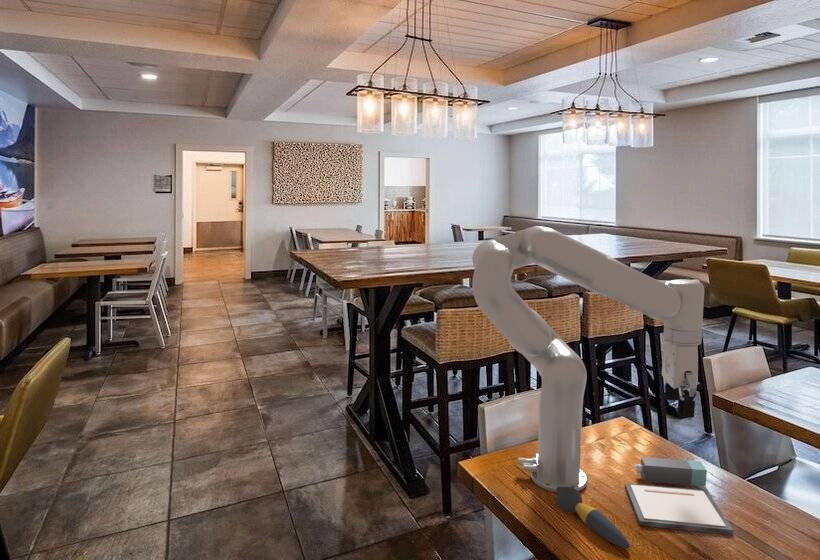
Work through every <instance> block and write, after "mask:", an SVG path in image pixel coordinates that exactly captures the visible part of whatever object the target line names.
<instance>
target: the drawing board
mask: <svg viewBox="0 0 820 560" xmlns="http://www.w3.org/2000/svg"><path fill="white" fill-rule="evenodd" d="M624 489H625V492H626V494H627V497H628V499H629V501H630V504H631V507H632V510H633V512H634V514H635V517H636V520H637V522H638V525H639V526H643V527H650V528H651V527H653V528H660V529H663V528H664V529H671V530H672V529H673V530H683V531H692V532H702V533H709V534H710V533H711V534H721V535H734V529H733V527H732V526H731V525H730V523H729V521H728V520H727V518H726V517H725V515H724V514H723V512H722V511H721V509H720V508H719V506H718V505H717V504H716V502H715V501H714V499H713V497H712V496H711V494H710V493H709V492H708V490H706V489H695V488H685V487H671V486H663V485H662V486H661V485H660V486H659V485H649V484H639V483H638V484H637V483H629V482H628V483H627V482H626V483H624Z"/></svg>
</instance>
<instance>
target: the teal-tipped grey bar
mask: <svg viewBox="0 0 820 560" xmlns="http://www.w3.org/2000/svg"><path fill="white" fill-rule="evenodd" d="M707 472H708V471H707V468H706V467H705V466H704V464H703V463H702V461H700V460H699V461H698V460H686V459H676V458H675V459H674V458H661V457H660V458H659V457H646V456H641V457H640V464H639V463H636V464H635V473H636V474H640V475H641V478H642V479H643V481H644V482H647V483H649V482H650V483H661V484H671V485H684V486H694V487H695V486H696V487H706V486H707V485H706V483H707V474H708V473H707Z"/></svg>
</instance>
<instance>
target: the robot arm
mask: <svg viewBox="0 0 820 560" xmlns="http://www.w3.org/2000/svg"><path fill="white" fill-rule="evenodd" d="M471 258H472V259H471V260H472V261H471V262H472V264H473V265H472V266H473V267H474V271H473V275H472V281H471V282H472V283H471V284H472V293H473V297H474V300H475V302H476V304H477V306H478V307H479V309H480V311H481V312H482V313H483V314H484V315H485V316H486V317H487V318H488V319H489V320H490V322H491V324H493V326H495V328H496V329H497V330H498V331H499V332H500V333H501V335H503V336H504V338H505V339H506V340H507V341H508V342H509V344H510V345H511V346H512V348H513V349H514V350H516V351H517V352H518V353H520V354H521V355H523V357H524V358H525V359H526V360H527V361H528V362H529V363H530V364H531V365H532V366H533V367H534V369H535V370H537V372H538V373H539V376H540V377H541V387H540V388H541V389H540V392H539V393H540V395H539V402H538V404H539V406H538V446H537V447H538V448H537V453H535V457H531V458H526V457H518V458H517V462H518V463H517V465H518V467H523V471H524V472H530V477H531V480H532V482H534V484H535V485H537V486H538V487H540V488H542V489H544V490H546V491H549V492H552V493H556V489H557V486H559V487H572V488H574V489H576V490H577V491H578V492H580V491H582V490H584V489H585V487H586V486H587V483H588V481H587V480H588V478H587V475H586V473H585V472H584V471H583V470H582V469H581V455H582V430H583V429H582V427H583V424H582V423H583V404H584V395H585V389H586V384H587V378H588V376H587V369H586V366H585V363H584V362H583V360H582V358H581V357H580V356H579V354H577V353H576V351H574V350H573V349H572V348H571V347H570V346H569V345H568V344H567V343H566V342H565V341H564V340H563V339H562V338H561V337H560V336H559V334H557V333H556V332H555V331H554V330H553V328H552V327H551V326H550V325H549V324H548V323H547V322H546V320H545V319H544V318H543V317H542V316H541V315H540V314H539V313H538V312H537V311H536V310H534V309H532V308H531V307H530V305H528V304H527V302H525V300H523V298H522V297H521V296H520V295H519V294H518V292H516V291H515V289H514V287H513V285H512V284H513V283H512V277H513V273H514V270H516V269H519V268H522V267H526V266H528V265H531V264H535V265H536V266H539V267H541V268H543V269H545V270H547V271H549V272H551V273H553V274H555V275H558V276H559V277H562V278H563V279H566V280H567V281H570V282H571V283H574V284H576V285H578V286H579V287H582V288H584V289H587V290H588V291H591V292H593V293H596V294H598V295H601V296H604V297H606V298H608V299H611V300H614V301H616V302H618V303H619V304H623V305H624V306H627V307H629V308H631V309H633V310H635V311H637V312H639V313H641V314H643V315H645V316H647V317H649V318H651V319H654V320H656V321H663V341H664V346H663V352H662V353H663V354H662V355H663V356H662V364H661V365H662V366H661V375H662V377H663V379H664V381H665V386H664V399H665V400H666V401H678V403H677V416H678V417H679V418H691V419H692V418H694V417H695V411H696V410H695V407H696V398H697V397H696V396H697V393H696V392H697V388H698V387H697V386H698V377H699V351H698V350H699V349H698V346H699V345H700V346H701V344H702V339H703V338H702V337H703V321H704V320H703V318H704V303H705V302H704V301H705V285H704V284H703V282H701V281H698V280H695V279H694V280H693V279H672V280H662V279H661V280H660V279H655V278H654V277H651V276H649V275H647V274H645V273H643V272H641V271H639V270H638V269H635V268H632V267H630V266H628V265H627V264H625V263H622V262H620V261H619V260H617V259H616V258H613V257H612V256H610V255H608V254H606V253H603V252H601V251H599V250H597V249H595V248H594V247H591V246H589V245H587V244H584V243H583V242H580V241H579V240H577V239H574V238H573V237H570V236H568V235H566V234H564V233H562V232H559V231H558V230H555V229H553V228H551V227H546V226H541V225H540V226H539V225H538V226H537V225H536V226H535V225H534V226H532V227H528V228H524V229H522V230H519V231H515V232H511V233H508V234H506V235H501V236H499V237H495V238H491V239H489V240H486V241H483V242H481V243H480V244H479V245H477V247H475V249H474V251H473V253H472V257H471ZM684 391H685V392H684Z"/></svg>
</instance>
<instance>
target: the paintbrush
mask: <svg viewBox="0 0 820 560" xmlns="http://www.w3.org/2000/svg"><path fill="white" fill-rule="evenodd" d="M555 498H556V502H557V504H558V506H559V508H560V509H561V510H562V511H564V512H566V513H569V514H570V513H571V514H572V513H574V514H575V513H576V514H577V515H578V516H579V517H580V519H581V520H582V521H583V523H584V524H585V525H586V526H587V527H588V528H589V529H590V530H592V531H593V532H594V533H596V535H599V536H600V537H601V538H603V539H604V540H606V541H607V542H609V543H611V544H613V545H615V546H617V547H619V548H622V549H630V547H631V546H630V542H629V541H628V539H627V538H626V536H625V535H624V533H623V532H622V530H620V529H619V527H618V526H617V525H615V524H614V523H613V522H612V521H611V520H610V519H609V518H608V517H607V516H606V515H604V514H603V513H602V512H601V511H599V510H598V509H597V508H594V507H592V506H589V505H587V504H584V503H583V497H582V495H581V493H580V491H577V490H576V489H574V488H572V487H559V486H557V489H556V492H555Z"/></svg>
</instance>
